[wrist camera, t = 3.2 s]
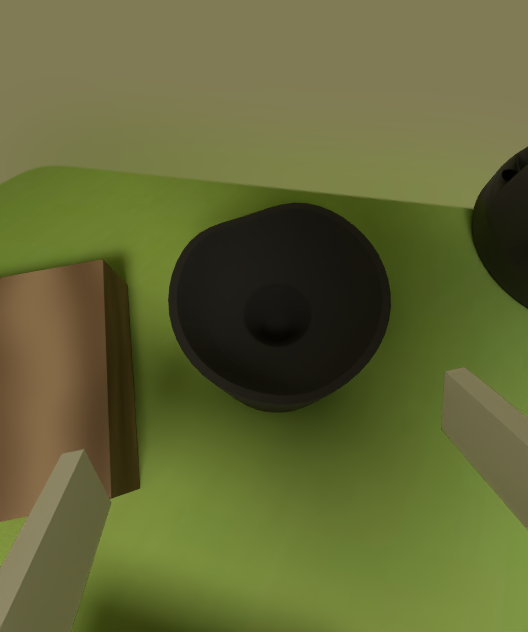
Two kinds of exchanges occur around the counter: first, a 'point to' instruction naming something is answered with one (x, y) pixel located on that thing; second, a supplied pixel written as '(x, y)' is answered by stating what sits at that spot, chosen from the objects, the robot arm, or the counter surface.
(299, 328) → the pen holder
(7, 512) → the walnut plinth
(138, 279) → the counter surface
